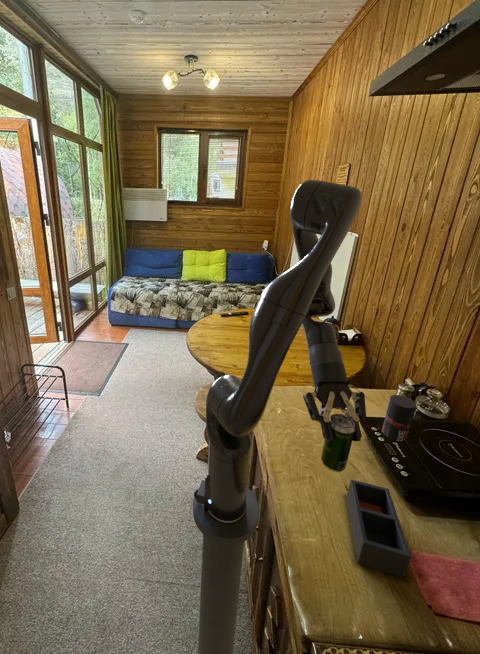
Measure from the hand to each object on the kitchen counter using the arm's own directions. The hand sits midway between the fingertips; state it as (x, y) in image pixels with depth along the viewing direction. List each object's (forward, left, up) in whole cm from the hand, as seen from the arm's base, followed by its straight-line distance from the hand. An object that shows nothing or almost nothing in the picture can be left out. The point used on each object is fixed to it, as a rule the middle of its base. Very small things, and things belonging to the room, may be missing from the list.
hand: (343, 440), depth 67 cm
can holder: (+7, -5, -17) cm, 19 cm away
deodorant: (+18, +24, -17) cm, 35 cm away
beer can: (-1, +2, -8) cm, 9 cm away
